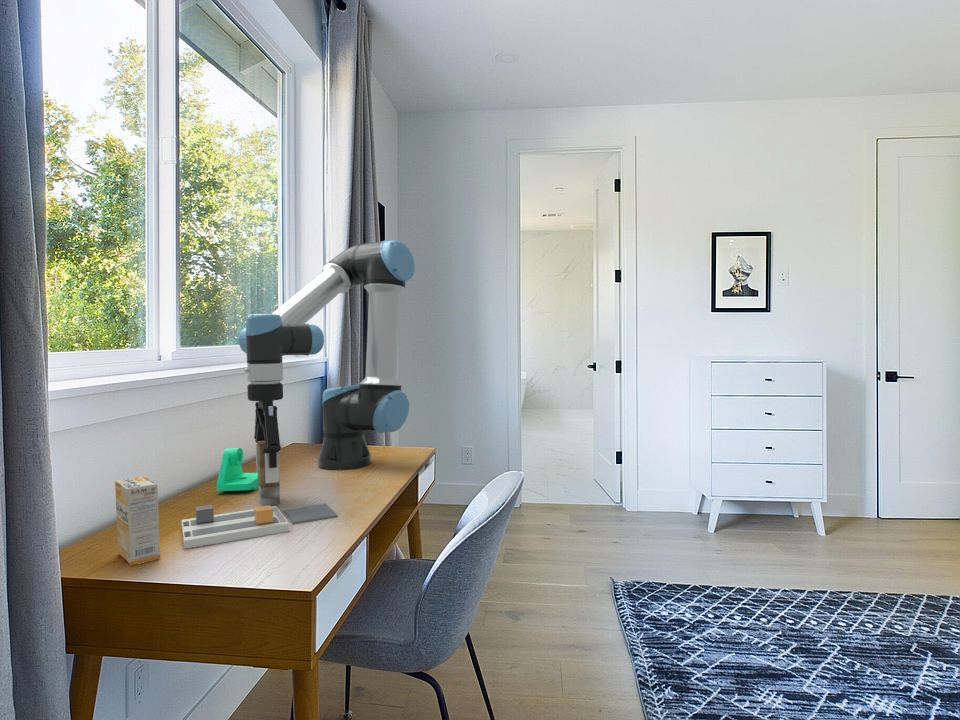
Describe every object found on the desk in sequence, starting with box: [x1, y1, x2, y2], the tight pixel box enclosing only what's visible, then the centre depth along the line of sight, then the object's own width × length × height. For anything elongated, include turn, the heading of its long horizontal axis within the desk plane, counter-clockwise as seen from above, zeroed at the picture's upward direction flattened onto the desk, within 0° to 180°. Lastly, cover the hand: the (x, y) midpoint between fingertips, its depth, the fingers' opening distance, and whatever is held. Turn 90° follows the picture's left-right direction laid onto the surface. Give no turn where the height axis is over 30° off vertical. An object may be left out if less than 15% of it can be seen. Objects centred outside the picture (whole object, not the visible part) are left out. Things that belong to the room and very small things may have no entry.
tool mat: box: [283, 503, 339, 525], centre depth 123 cm, size 9×10×1 cm
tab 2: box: [253, 505, 273, 524], centre depth 114 cm, size 3×3×2 cm
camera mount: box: [216, 447, 258, 492], centre depth 147 cm, size 12×8×10 cm, turn 0°
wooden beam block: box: [256, 440, 281, 507], centre depth 132 cm, size 4×4×14 cm
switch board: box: [181, 505, 290, 550], centre depth 114 cm, size 18×14×2 cm
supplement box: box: [114, 475, 161, 567], centre depth 100 cm, size 8×5×13 cm, turn 45°
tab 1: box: [195, 504, 215, 523], centre depth 115 cm, size 3×3×2 cm
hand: (267, 476), depth 132 cm, fingers open, 13 cm apart
